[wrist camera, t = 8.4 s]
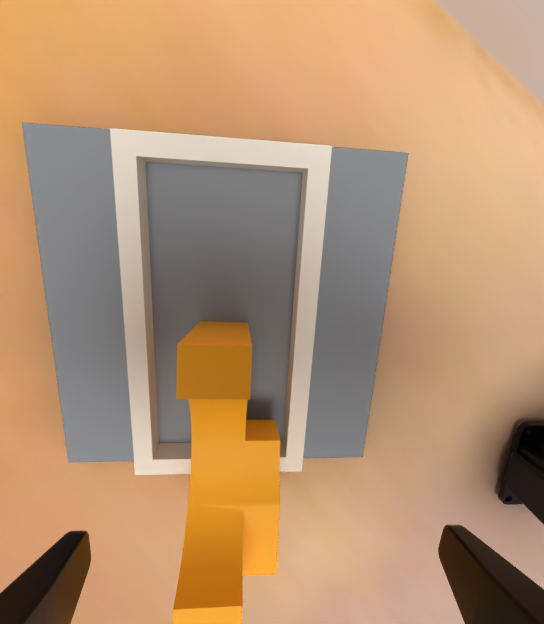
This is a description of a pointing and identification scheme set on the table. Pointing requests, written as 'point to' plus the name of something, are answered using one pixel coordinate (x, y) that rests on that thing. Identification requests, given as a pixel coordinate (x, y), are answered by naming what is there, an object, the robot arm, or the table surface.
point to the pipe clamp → (225, 477)
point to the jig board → (211, 282)
